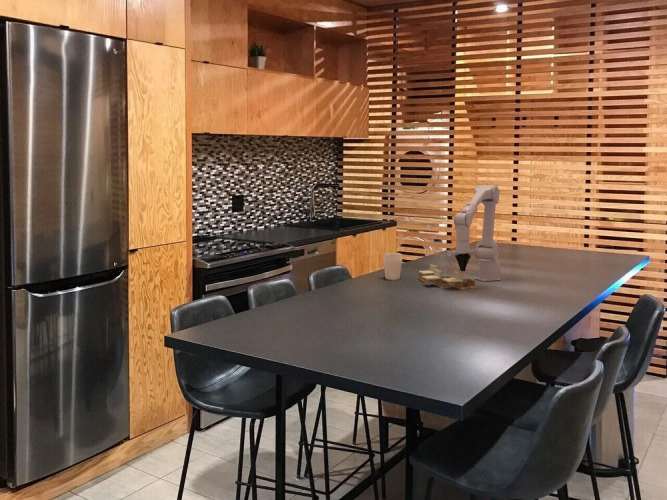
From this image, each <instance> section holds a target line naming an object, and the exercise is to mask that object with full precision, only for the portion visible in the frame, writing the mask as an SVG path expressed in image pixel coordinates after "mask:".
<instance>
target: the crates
mask: <svg viewBox="0 0 667 500" xmlns="http://www.w3.org/2000/svg"><path fill="white" fill-rule="evenodd" d="M432 275H434V274H432ZM422 276H425V275H424V274H421V273H419V272H418V280H419V281H421V282H423V283H430V282H431V283H433V285H434V286H437V287H440V288H441V287H442V288H444V287H454V288H456V289H459V290H473V289H476V280H473V279H472V278H469V277H467V278H463V282H446V281H444V280H442V279H443V278H453V277H451V276H449V275H442V279H434V280H425V278H422Z"/></svg>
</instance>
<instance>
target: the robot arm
mask: <svg viewBox="0 0 667 500" xmlns="http://www.w3.org/2000/svg"><path fill="white" fill-rule="evenodd" d="M473 194H474V195H473V197H472V199H471V201H470V202H466V203H465V205H464V206H463V208H461V210H460V212H457V213H456V214H454V217H453V224H454V230H455V233H456V236H455V249H453V250H447V251H446V254H447V256H448V257H452V256H453V257H454V258H455V259H456V261H457V264H458V267H459V271H460V272H466V268H467V266H468V264H469V261H470V259H471V256H472V255H474V257H475V258H476V259H477V260H476V261H478V277H475V280H479V281H481V282H491V281H501V280H502V279H501V263H500V261H499V260H498V259H499V255H500V252H499V244H498V243H497V242H496V241H495V240H494V230H495V220H496V219H495V217H496V207H497V204H499V201H500V189H499V187H498V186H497V185H487V184H486V185H485V184H484V185H482V184H481V185H480V184H477V185H476V186H475V188H474V193H473ZM481 204H483V206H484V210H483V223H482V233H481V235H482V236H481V240H480V241H478V242H477V243H476V247H475V248H470V231H471V230H470V229H471V228H470V226H471V225H472V224H473V221H474V220H473V219H474V216H475V215H476V213H477V212H478V206H479V205H481Z"/></svg>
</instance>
